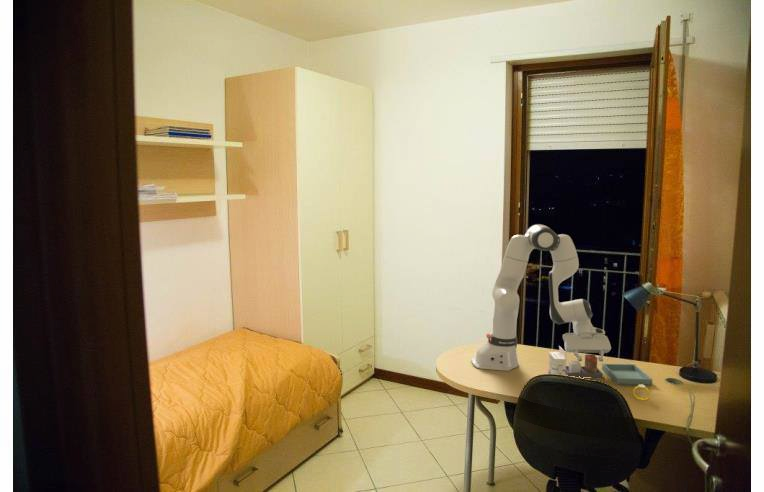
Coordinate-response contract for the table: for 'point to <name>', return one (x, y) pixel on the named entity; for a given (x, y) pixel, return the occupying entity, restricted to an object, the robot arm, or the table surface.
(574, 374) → the fuse rack
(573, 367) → the pale grey fuse
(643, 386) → the gold ring
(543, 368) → the table surface
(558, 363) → the ink cartridge box
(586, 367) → the cylinder
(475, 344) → the table surface
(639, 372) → the slate-green tray
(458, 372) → the table surface
